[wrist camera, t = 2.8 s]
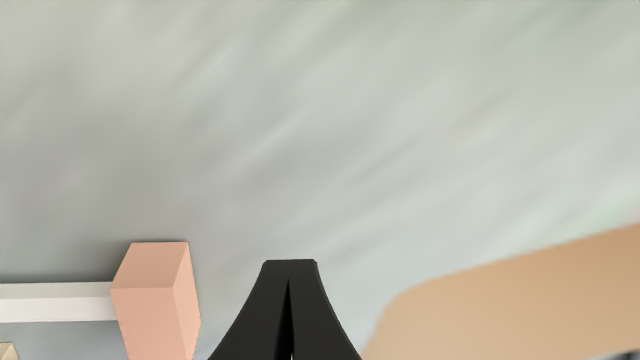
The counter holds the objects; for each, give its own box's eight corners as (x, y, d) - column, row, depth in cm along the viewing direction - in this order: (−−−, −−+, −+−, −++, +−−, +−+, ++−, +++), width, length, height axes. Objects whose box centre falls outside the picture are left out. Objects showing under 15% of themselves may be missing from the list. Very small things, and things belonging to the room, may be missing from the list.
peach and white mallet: (201, 322, 25) (184, 392, 22) (-29, 327, 25) (-83, 398, 21) (187, 241, 23) (166, 305, 19) (-69, 246, 22) (-137, 311, 19)
